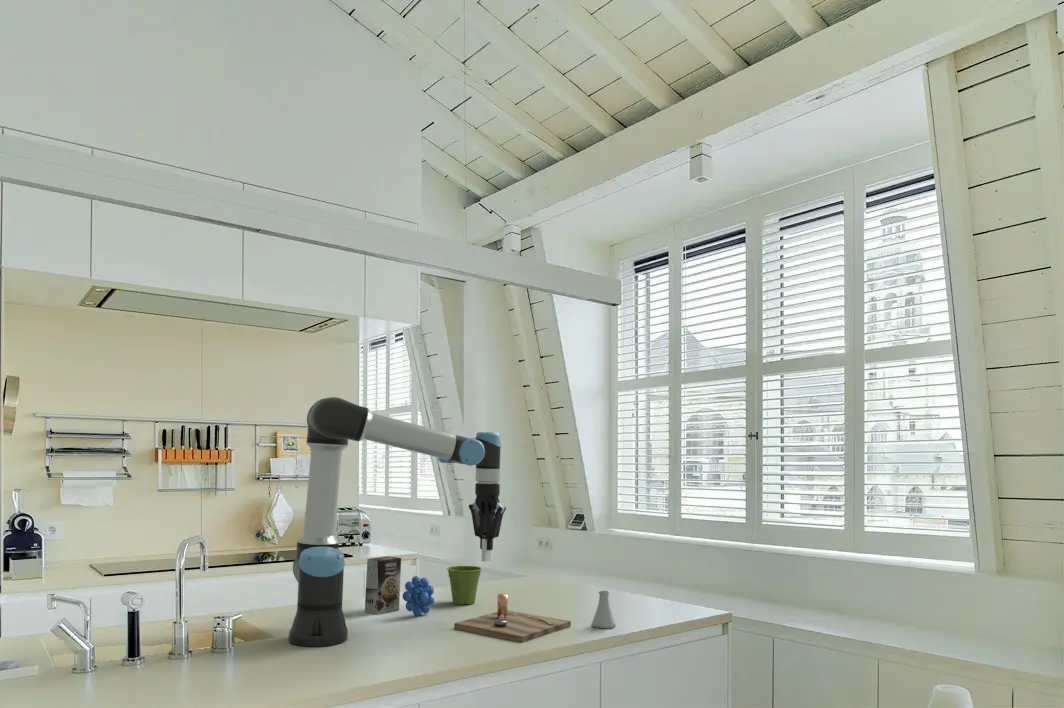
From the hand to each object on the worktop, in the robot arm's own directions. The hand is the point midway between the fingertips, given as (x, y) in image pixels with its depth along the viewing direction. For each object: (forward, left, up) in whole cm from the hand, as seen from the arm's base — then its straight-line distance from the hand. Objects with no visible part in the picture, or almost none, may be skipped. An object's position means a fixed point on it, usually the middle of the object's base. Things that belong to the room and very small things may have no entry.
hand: (486, 560), depth 248 cm
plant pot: (+13, +19, -17) cm, 29 cm away
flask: (+15, -33, -17) cm, 40 cm away
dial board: (-4, -14, -17) cm, 22 cm away
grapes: (-11, +16, -17) cm, 26 cm away
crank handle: (-6, -11, -15) cm, 19 cm away
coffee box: (-13, +30, -17) cm, 37 cm away
